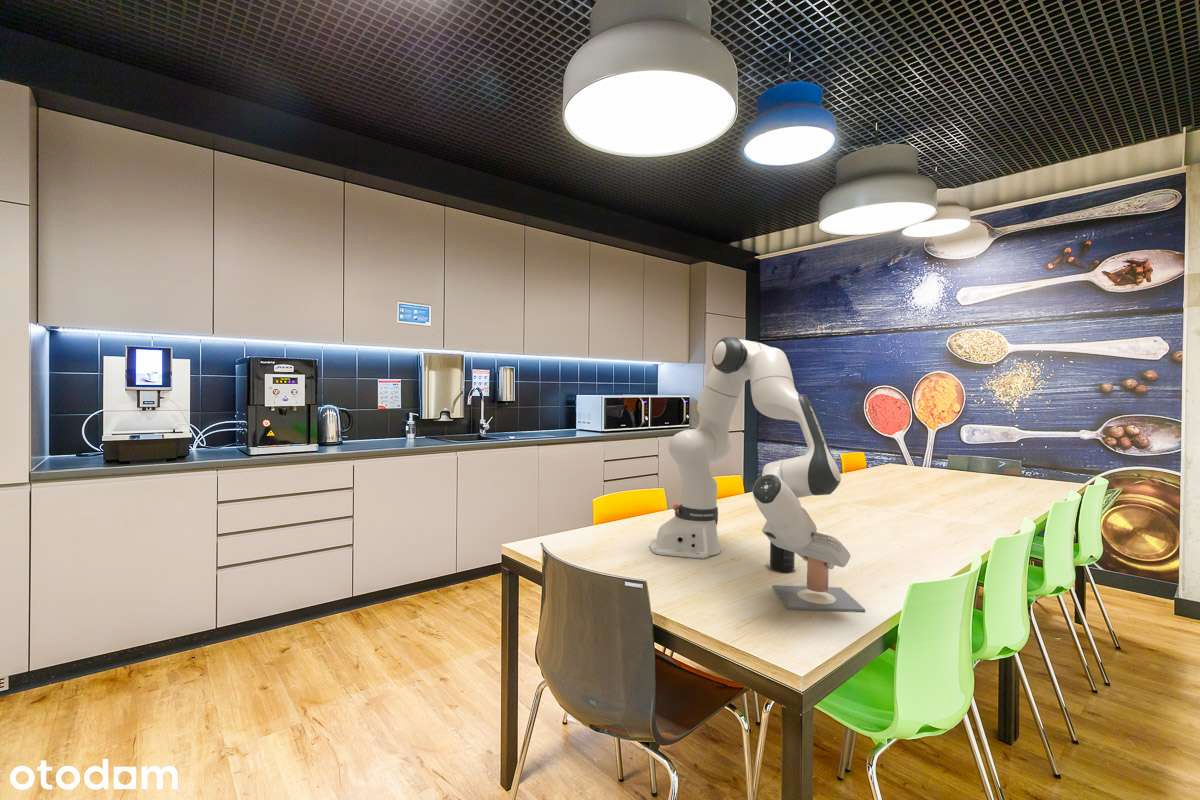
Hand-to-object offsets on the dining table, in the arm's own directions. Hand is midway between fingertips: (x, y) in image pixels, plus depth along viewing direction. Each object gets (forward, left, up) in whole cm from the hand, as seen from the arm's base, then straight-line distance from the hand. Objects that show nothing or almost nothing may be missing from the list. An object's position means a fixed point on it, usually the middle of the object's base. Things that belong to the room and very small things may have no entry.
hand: (819, 562), depth 137 cm
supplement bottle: (-3, +22, -9) cm, 24 cm away
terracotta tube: (-1, 0, -6) cm, 6 cm away
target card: (-1, 0, -9) cm, 9 cm away
